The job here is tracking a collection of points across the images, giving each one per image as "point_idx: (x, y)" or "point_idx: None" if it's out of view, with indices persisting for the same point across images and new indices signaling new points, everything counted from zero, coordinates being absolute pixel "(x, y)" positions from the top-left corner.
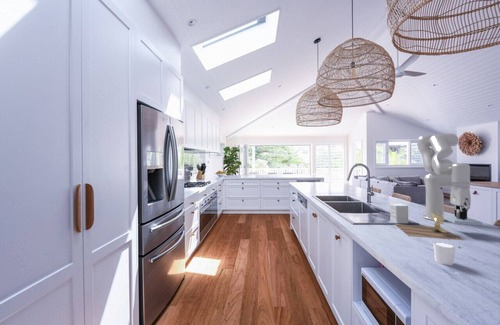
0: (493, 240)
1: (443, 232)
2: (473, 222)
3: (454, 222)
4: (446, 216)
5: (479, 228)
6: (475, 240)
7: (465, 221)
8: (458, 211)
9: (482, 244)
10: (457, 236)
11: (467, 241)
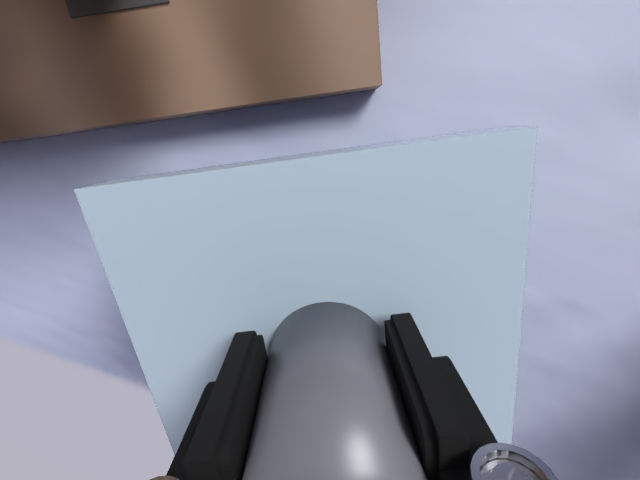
0: None
1: (101, 23)
2: (170, 418)
3: (97, 183)
4: (457, 185)
5: (528, 443)
6: (105, 275)
7: (132, 341)
8: (276, 439)
9: (8, 280)
10: (10, 133)
11: (24, 199)
